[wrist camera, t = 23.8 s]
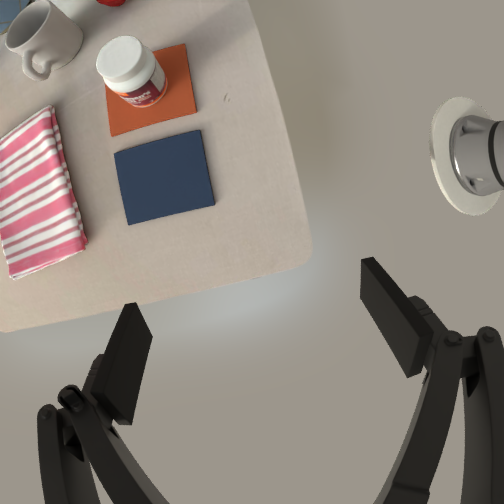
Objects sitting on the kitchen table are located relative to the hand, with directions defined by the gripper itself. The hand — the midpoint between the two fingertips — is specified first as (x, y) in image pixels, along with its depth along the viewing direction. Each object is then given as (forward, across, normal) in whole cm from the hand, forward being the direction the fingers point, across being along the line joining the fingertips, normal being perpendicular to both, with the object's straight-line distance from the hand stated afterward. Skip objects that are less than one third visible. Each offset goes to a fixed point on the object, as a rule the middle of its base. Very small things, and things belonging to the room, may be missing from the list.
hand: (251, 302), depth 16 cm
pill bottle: (+27, -9, +17) cm, 33 cm away
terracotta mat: (+27, -9, +17) cm, 33 cm away
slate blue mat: (+24, -9, +4) cm, 26 cm away
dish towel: (+24, -31, +8) cm, 40 cm away
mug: (+29, -23, +28) cm, 47 cm away
